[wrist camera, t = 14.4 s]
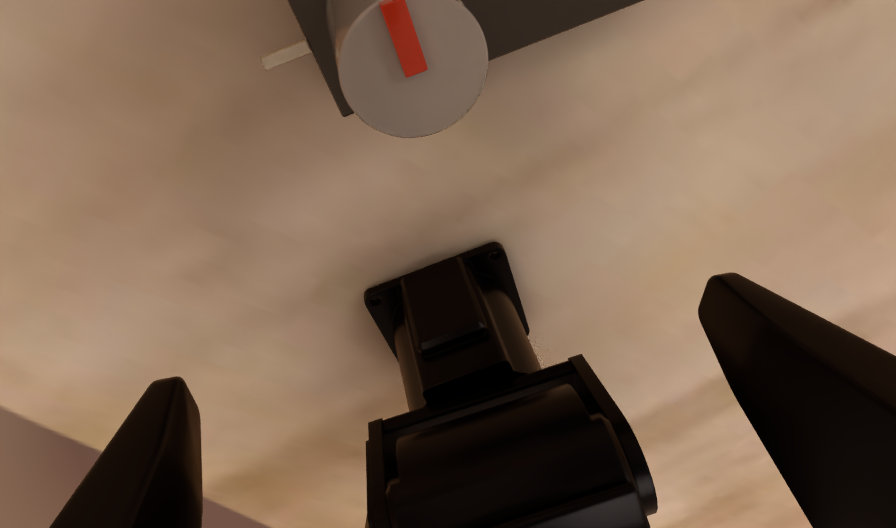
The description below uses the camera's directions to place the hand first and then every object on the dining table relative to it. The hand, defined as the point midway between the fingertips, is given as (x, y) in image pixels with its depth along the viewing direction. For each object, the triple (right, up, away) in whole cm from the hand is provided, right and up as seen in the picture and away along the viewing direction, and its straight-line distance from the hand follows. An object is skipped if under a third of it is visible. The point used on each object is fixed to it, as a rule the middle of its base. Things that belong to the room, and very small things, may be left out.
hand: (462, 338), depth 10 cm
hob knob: (-2, +8, +7) cm, 11 cm away
